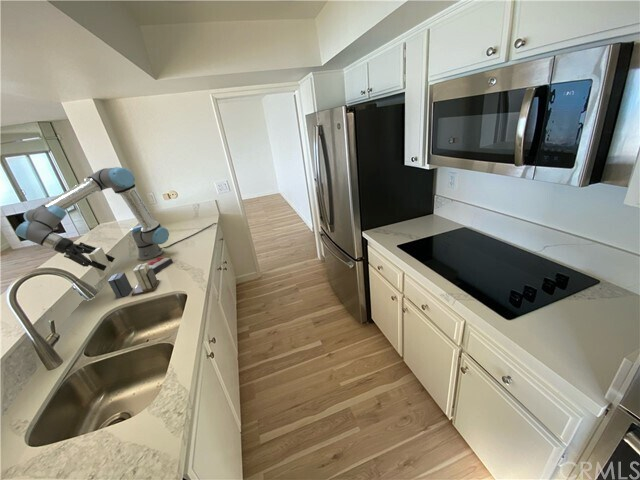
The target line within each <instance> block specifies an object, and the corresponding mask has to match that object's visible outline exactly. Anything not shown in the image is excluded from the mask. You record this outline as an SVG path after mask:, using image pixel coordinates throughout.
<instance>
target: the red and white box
mask: <svg viewBox="0 0 640 480" xmlns="http://www.w3.org/2000/svg"><path fill="white" fill-rule="evenodd" d="M147 263H148V265H149V267H150V268H152V269H153V271H154V274H155V275H156V274H157V273H159V272H161V270H162V269H164V268H166V267H168V266H169V265H171V264H173V258H170V257H156V258H154V260H152V261H149V262H147Z"/></svg>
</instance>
